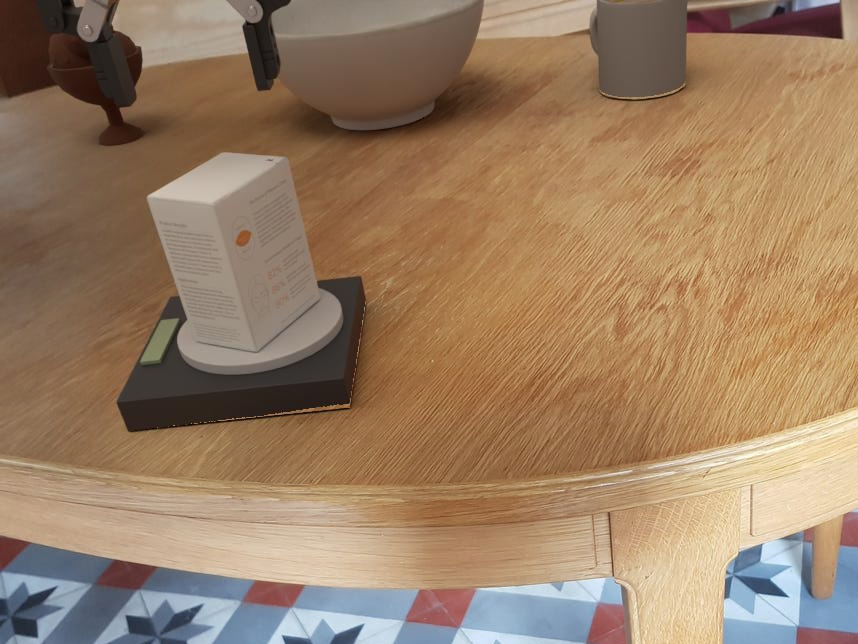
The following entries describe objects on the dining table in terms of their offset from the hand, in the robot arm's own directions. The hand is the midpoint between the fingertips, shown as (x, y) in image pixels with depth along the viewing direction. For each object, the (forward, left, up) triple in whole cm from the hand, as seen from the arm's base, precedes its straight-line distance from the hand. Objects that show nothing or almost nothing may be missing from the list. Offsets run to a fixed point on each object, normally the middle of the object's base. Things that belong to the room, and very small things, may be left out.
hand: (196, 95), depth 57 cm
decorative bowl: (+5, +57, -19) cm, 60 cm away
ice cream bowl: (-28, +60, -19) cm, 69 cm away
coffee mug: (+35, +57, -19) cm, 70 cm away
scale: (-1, 0, -19) cm, 19 cm away
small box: (0, 0, -16) cm, 16 cm away
